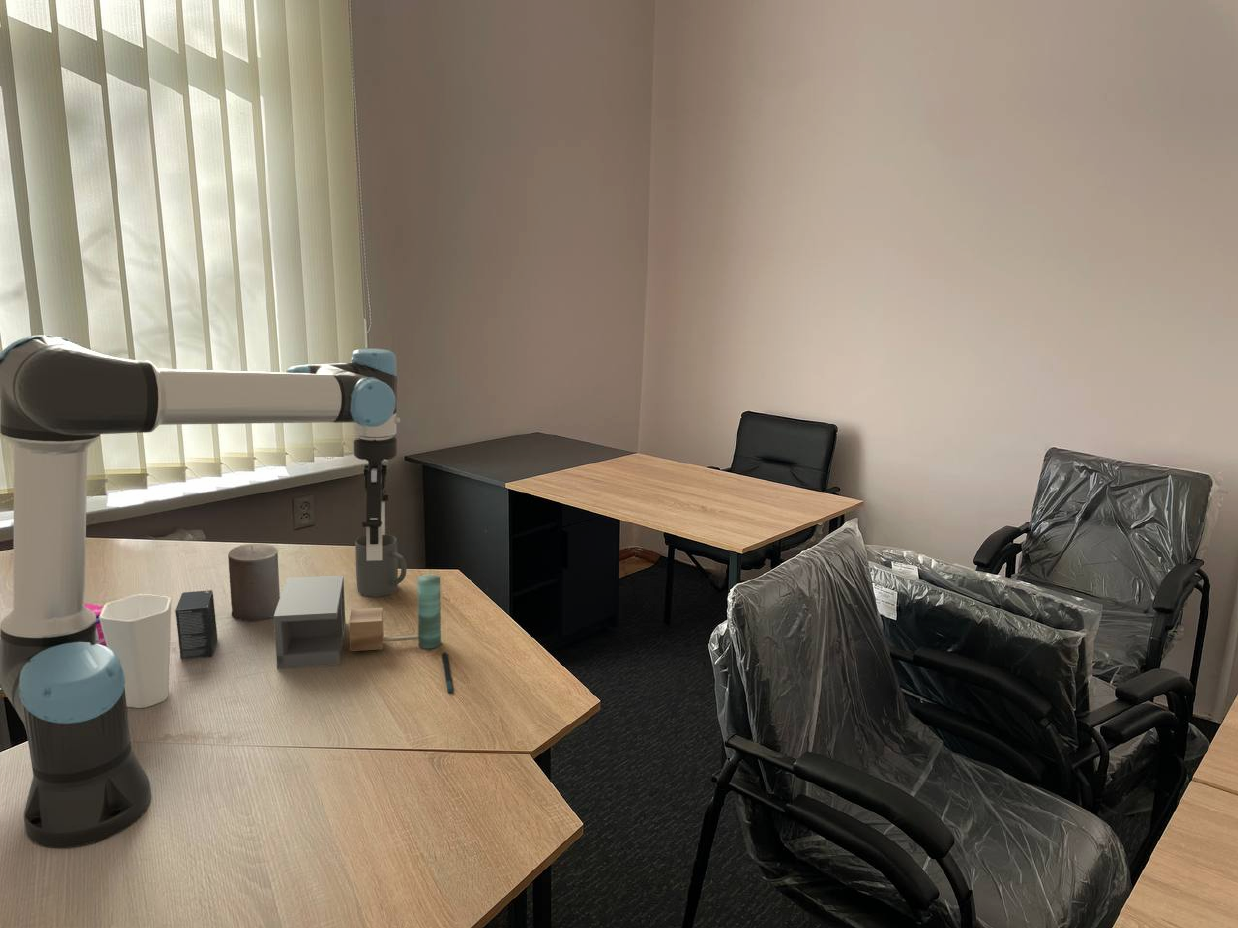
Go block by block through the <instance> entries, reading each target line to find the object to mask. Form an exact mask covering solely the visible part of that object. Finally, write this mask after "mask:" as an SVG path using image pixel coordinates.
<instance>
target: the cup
mask: <svg viewBox="0 0 1238 928" xmlns="http://www.w3.org/2000/svg"><path fill="white" fill-rule="evenodd" d="M99 619H100V623H101V627H102V630H103V634H104V638H105V642H106V645H107V647H108V648H110V649H111V650H112V651H114V652H115V653H116V655H117V656H118V658H119V660H120V663H121V667H122V669H123V672H124V677H125V684H124V686H125V696H126V705H127V708H136V709H144V708H148V707H151V706H153V705H157V704H159V703H163V702H164V701H165V700H167V698H168V694H169V691H170V690H169V689H170V666H171V663H170V662H171V660H170V659H171V658H170V657H171V627H172V626H171V623H172V598H171V597H169V596H165V595H158V594H157V595H156V594H149V593H140V594H135V595H130V596H126V597H124V598H120V599H117V600H112V601H110V602H106V603H105V604H104V606H103V609H102V611H101V614H100V616H99Z"/></svg>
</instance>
